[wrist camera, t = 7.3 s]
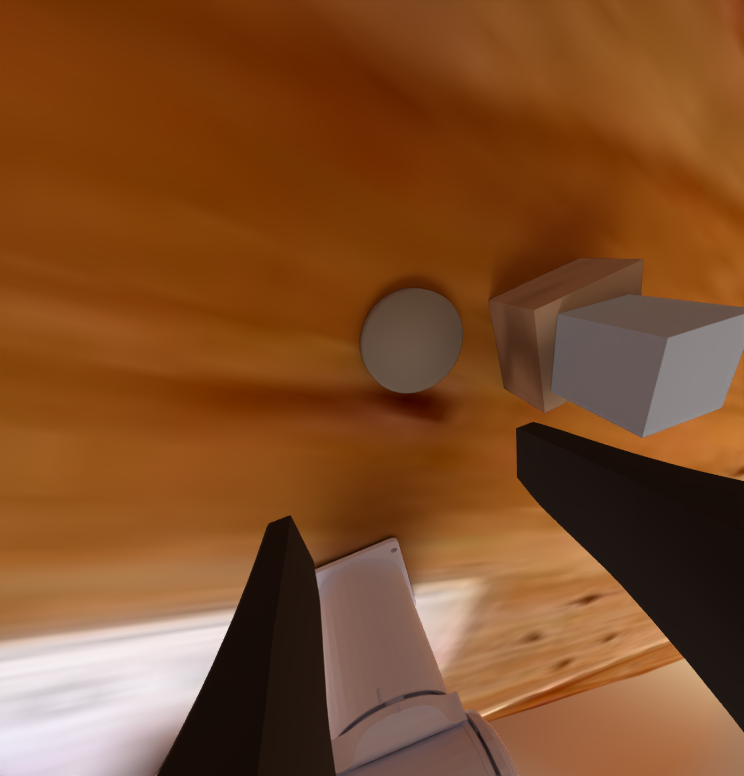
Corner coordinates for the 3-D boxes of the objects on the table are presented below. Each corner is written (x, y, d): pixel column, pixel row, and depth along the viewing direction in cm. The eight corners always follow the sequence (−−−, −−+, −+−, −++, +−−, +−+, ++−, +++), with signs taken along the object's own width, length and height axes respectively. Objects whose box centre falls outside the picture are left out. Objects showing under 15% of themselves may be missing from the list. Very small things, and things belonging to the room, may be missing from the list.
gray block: (614, 370, 18) (721, 407, 14) (550, 391, 18) (642, 437, 13) (629, 294, 16) (758, 309, 12) (557, 314, 16) (667, 338, 11)
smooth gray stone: (456, 369, 20) (466, 375, 19) (370, 397, 19) (376, 406, 18) (447, 275, 18) (457, 276, 16) (346, 303, 17) (351, 306, 16)
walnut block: (579, 348, 22) (636, 366, 19) (501, 387, 22) (545, 413, 18) (576, 257, 19) (643, 259, 16) (486, 299, 19) (534, 310, 15)
